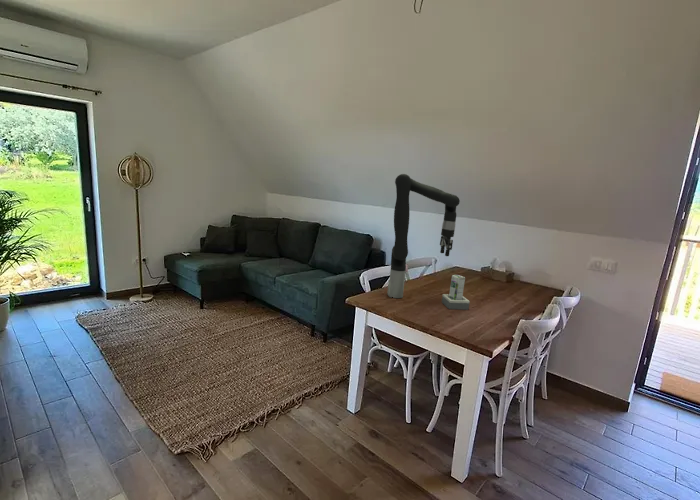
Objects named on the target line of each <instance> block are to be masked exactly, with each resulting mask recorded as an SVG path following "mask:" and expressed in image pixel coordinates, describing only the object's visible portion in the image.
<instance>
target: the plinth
mask: <svg viewBox="0 0 700 500" xmlns="http://www.w3.org/2000/svg"><path fill="white" fill-rule="evenodd" d="M441 304H442V305H444V306H445V307H446V308H447V309H448V310H460V311H461V310H466V311H468V310H469V308H470V300H469V299H467V298H466V297H465V296H464V295H463V296H462V300H452V299H450V298H449V293H442V296H441Z"/></svg>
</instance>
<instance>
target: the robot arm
mask: <svg viewBox="0 0 700 500" xmlns="http://www.w3.org/2000/svg"><path fill="white" fill-rule="evenodd" d="M394 184H395V188H396V189H395V190H396V191H395V192H396V200H395V206H394V210H393V211H394V212H393V229H394V245H393V246H392V249H391V255H390V256H391V258H390V272H389V279H388V284H387V285H388V286H387V293H386V294H387V295H388V298H392V297H393V299H402V298H403V297H404V288H405V282H406V281H405V280H406V270H407V265H406V264H407V263H406V262H407V257H408V255H409V249H408V234H409V229H410V228H409V226H410V193H411V192H414V193H416V194H418V195H421V196H423V197H424V198H427V199H430V200H432V201H435V202H437V203H442V204H443V205H444V214H443V221H442V225H441V233H440V235H441V236H440V241H439V246H440V251H439V252H440V253H441V254H444V256H445V257H449V256H450V252H451V251H453V250H452V249H453V245H454V244H453V243H454V240H453V239H452V238H454V236H455V231H456V220H457V206H459V204H460V202H461V201H460V198H459V196H457V195H455V194H452V193H449V192H446V191H444V190H442V189H439V188H436V187H434V186H431V185H429V184H424V183H421V182H419V181H416V180H415V179H413V178H411V177H410V176H409V175H408V174H407V173H401V174H399V175H397V176H396V178H395V179H394Z"/></svg>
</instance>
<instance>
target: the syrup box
mask: <svg viewBox="0 0 700 500" xmlns="http://www.w3.org/2000/svg"><path fill="white" fill-rule="evenodd" d="M450 281H451V282H450V287H449V293H448V294H449V298H450V299H452V300H462V296H464V289H465V283H466V282H465V281H466V277H465V276H462V275H459V274H452V275H451V280H450Z"/></svg>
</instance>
